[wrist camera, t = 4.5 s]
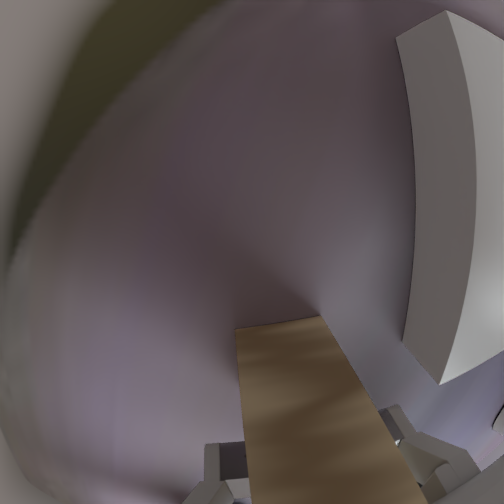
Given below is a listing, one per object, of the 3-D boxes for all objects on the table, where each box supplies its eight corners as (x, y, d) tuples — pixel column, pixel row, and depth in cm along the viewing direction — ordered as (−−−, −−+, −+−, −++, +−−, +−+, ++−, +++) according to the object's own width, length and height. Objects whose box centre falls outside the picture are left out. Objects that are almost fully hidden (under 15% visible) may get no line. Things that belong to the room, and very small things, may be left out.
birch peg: (321, 315, 13) (430, 507, 3) (319, 377, 14) (388, 540, 5) (234, 329, 13) (259, 559, 3) (245, 390, 14) (270, 571, 4)
